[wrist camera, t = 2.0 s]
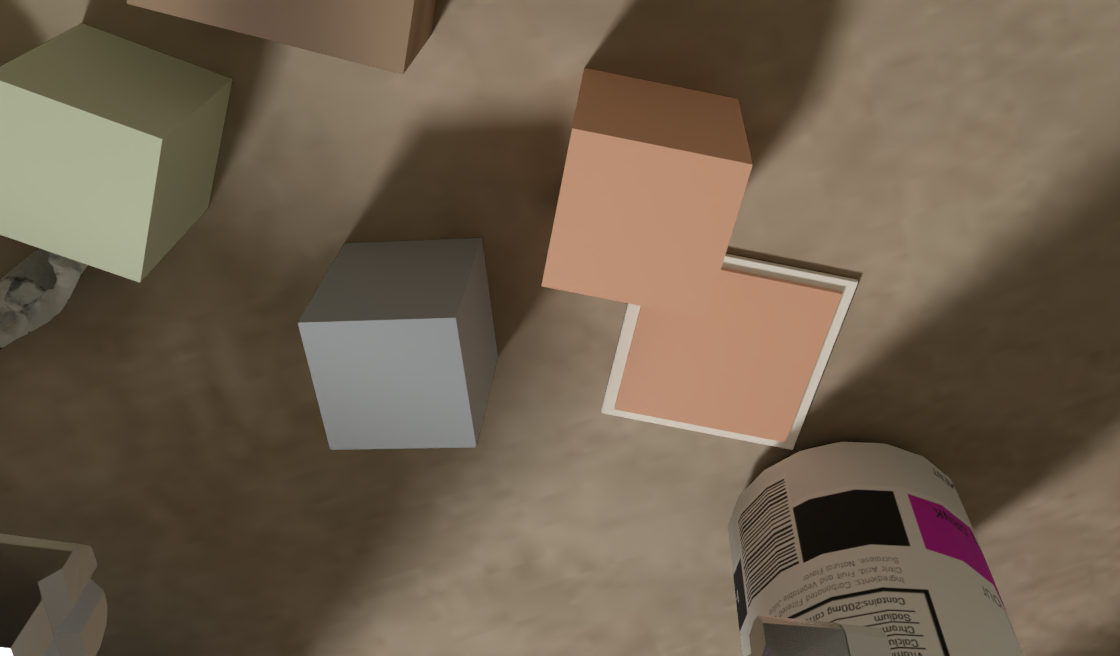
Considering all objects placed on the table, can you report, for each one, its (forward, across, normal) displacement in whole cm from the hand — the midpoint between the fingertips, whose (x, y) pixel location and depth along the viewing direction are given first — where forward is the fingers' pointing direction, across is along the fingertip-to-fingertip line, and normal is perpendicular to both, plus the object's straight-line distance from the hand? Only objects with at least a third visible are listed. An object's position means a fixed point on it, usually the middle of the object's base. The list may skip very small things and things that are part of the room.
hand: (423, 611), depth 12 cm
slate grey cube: (+19, -3, -8) cm, 21 cm away
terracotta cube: (+20, +3, -2) cm, 20 cm away
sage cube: (+20, -12, -3) cm, 23 cm away
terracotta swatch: (+19, +7, -8) cm, 22 cm away
